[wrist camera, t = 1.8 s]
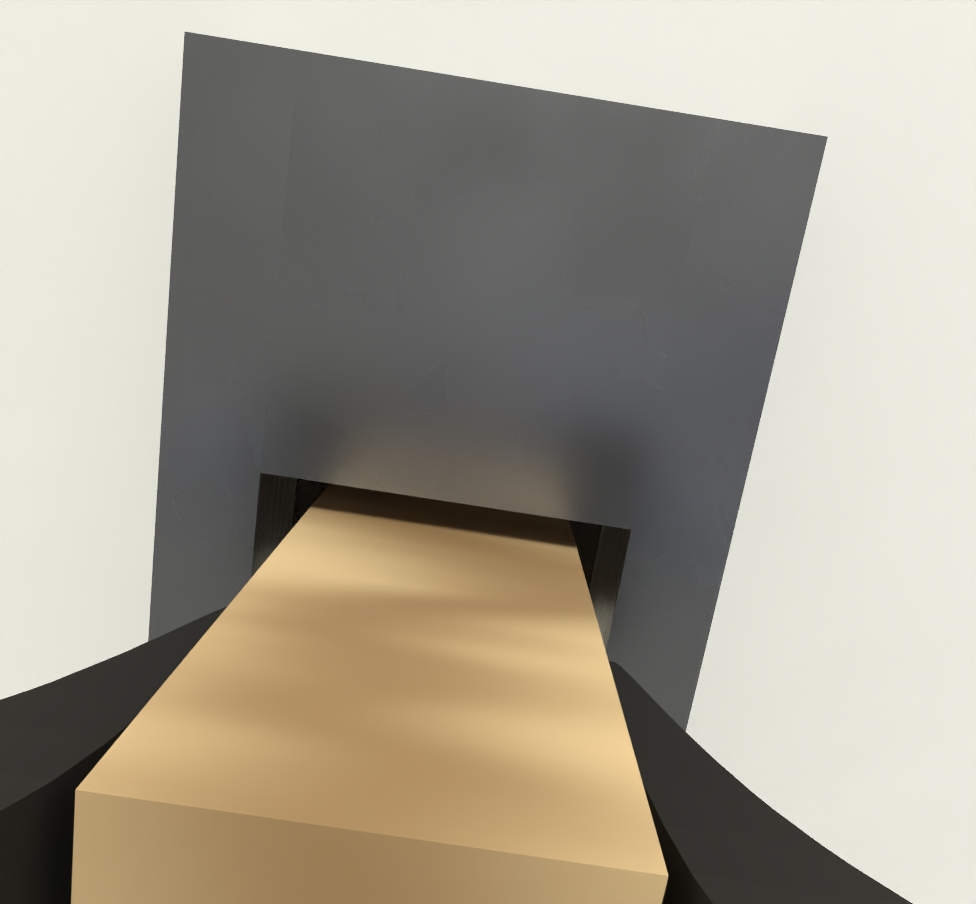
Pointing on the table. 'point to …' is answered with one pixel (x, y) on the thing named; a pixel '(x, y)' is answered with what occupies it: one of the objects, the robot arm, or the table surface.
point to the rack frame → (470, 323)
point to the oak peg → (383, 730)
